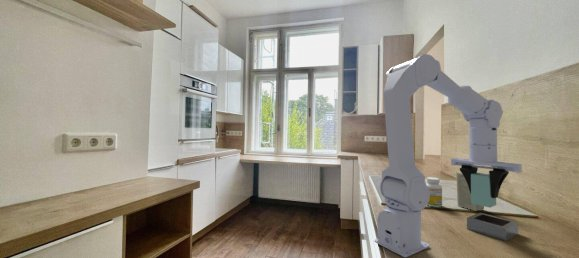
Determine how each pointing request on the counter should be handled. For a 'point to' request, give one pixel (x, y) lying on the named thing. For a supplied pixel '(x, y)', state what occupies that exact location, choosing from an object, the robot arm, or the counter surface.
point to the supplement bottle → (434, 192)
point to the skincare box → (465, 194)
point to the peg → (481, 190)
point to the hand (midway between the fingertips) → (483, 195)
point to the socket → (492, 226)
